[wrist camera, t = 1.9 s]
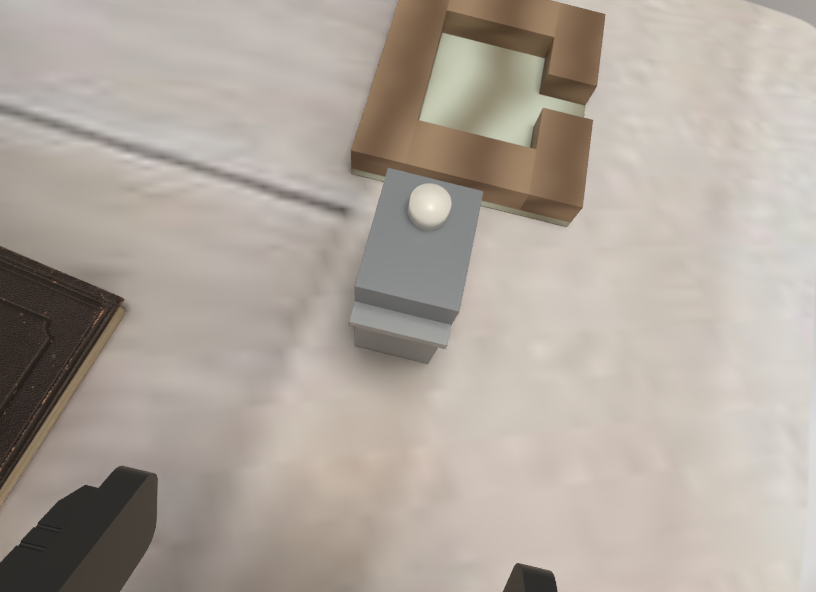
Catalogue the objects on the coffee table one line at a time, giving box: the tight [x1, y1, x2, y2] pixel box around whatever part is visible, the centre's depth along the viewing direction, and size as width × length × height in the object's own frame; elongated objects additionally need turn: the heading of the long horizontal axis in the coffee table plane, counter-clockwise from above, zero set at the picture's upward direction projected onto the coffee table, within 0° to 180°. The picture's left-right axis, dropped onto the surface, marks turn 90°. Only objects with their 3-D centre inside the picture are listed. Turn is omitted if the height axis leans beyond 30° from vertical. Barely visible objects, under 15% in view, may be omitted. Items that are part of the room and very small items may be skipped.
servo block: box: [349, 168, 483, 364], centre depth 27 cm, size 4×8×11 cm, turn 167°
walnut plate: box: [351, 0, 605, 227], centre depth 37 cm, size 15×17×3 cm
